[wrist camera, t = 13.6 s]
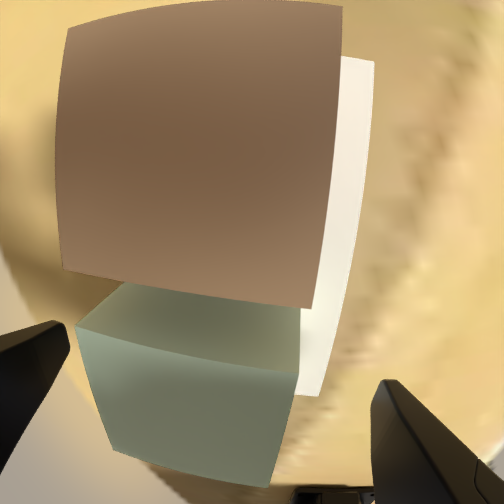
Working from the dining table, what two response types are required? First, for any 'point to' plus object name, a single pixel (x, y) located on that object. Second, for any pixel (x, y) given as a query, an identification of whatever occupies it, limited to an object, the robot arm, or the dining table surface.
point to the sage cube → (193, 379)
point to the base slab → (338, 222)
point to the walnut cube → (200, 147)
